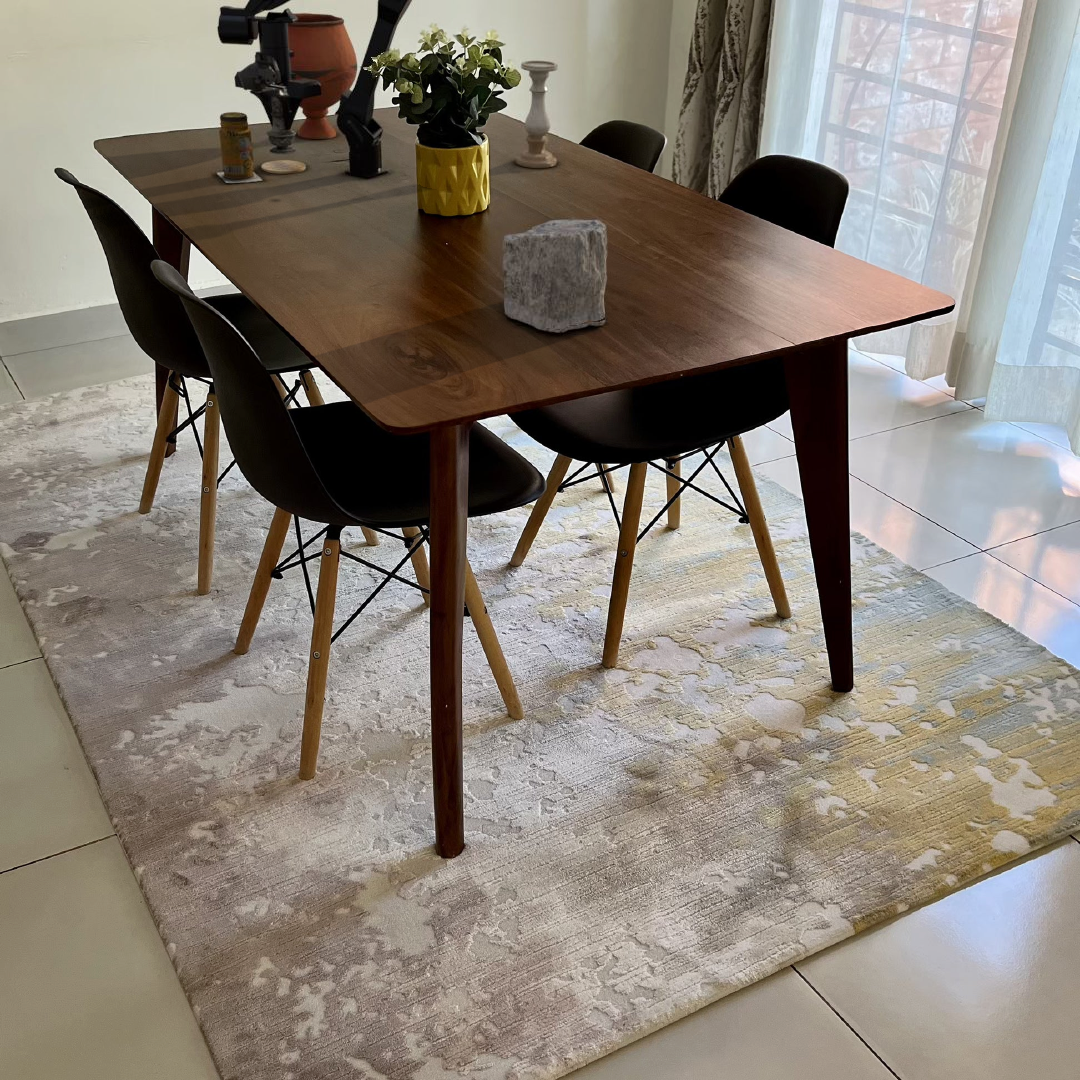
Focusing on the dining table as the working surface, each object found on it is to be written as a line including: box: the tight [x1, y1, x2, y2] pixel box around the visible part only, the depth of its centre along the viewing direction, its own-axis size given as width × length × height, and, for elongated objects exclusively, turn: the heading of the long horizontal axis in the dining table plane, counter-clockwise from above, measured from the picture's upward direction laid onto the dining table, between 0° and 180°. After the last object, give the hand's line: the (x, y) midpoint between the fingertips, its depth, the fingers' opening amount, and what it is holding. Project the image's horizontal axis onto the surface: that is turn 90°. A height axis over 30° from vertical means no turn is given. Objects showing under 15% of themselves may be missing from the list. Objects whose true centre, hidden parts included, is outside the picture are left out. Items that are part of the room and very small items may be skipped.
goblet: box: [280, 12, 358, 140], centre depth 264 cm, size 19×19×25 cm
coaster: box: [260, 159, 307, 175], centre depth 245 cm, size 9×9×1 cm
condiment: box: [216, 111, 263, 184], centre depth 235 cm, size 7×8×12 cm
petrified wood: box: [501, 219, 608, 333], centre depth 176 cm, size 19×17×15 cm
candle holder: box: [515, 60, 559, 169], centre depth 250 cm, size 9×9×20 cm
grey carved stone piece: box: [266, 90, 297, 155], centre depth 240 cm, size 6×6×12 cm
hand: (281, 128), depth 241 cm, fingers closed on grey carved stone piece, 3 cm apart
